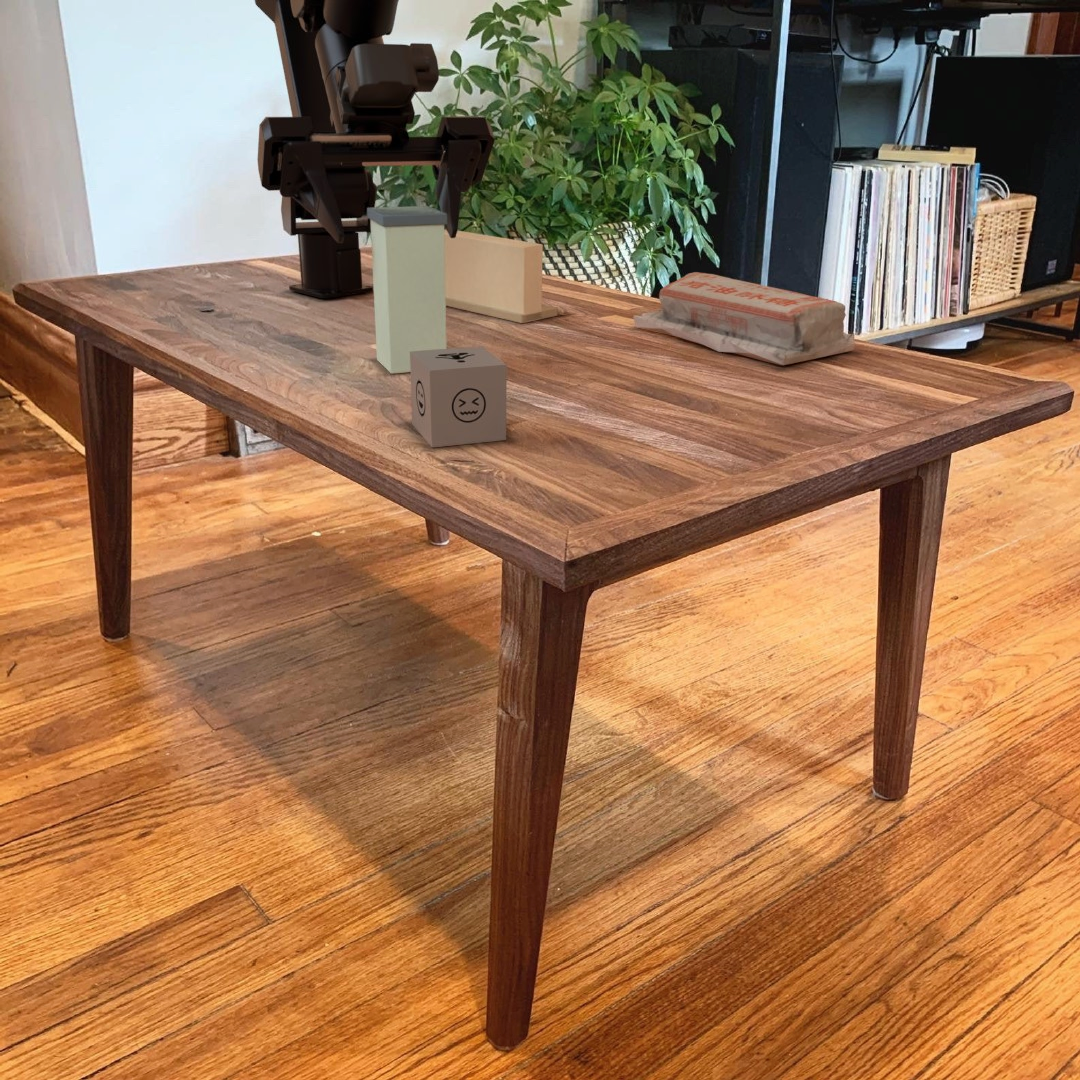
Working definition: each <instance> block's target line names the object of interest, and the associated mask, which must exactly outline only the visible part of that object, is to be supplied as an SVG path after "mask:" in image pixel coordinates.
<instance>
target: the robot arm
mask: <svg viewBox="0 0 1080 1080" xmlns="http://www.w3.org/2000/svg"><path fill="white" fill-rule="evenodd" d="M399 2H400V1H399V0H254V4H255V6H256V7H257V8H258V9H259V10H260V11H261V12H262V13H264V15H265V16H266V17H267V18H269V20H270V21H271V22H272V23H273V24H274V27H275V32H276V38H277V44H278V48H279V54H280V59H281V64H282V69H283V74H284V75H283V76H284V81H285V85H286V91H287V95H288V101H289V106H290V111H291V116H265V117H264V118H263V120H262V121H261V122H260V123H259V125H258V126H259V127H258V142H257V143H258V144H257V167H258V168H257V169H258V170H257V171H258V175H259V179H260V180H259V181H260V185H261V187H262V188H263V189H265V190H267V191H270V192H271V191H279V194H280V196H281V203H280V204H281V205H280V212H281V214H280V215H281V220H282V228H283V231H285V233H287V234H288V235H289V236H291V237H292V236H294V237H295V236H296V237H297V239H298V240H297V241H298V242H297V243H298V256H299V269H300V283H297V284H291V285H289V286H288V289H289V291H291V292H296V293H300V294H303V295H307V296H312V297H315V298H320V299H332V298H338V297H339V298H340V297H344V296H350V295H356V294H364V293H369V292H374V286H373V285H369V284H365V283H363V273H362V272H363V271H362V270H363V269H362V255H361V253H362V251H361V249H360V236H359V233H367V234H371V221H370V219H369V218H367V208H372V207H376V202H377V201H376V200H377V194H378V186H377V184H376V183H375V182H374V180H373V175H372V173H371V170H369V169H367V168H366V167H394V166H395V167H396V166H397V167H402V166H432V167H431V168H432V173H433V177H434V180H435V181H436V184H435V187H434V190H435V191H434V192H435V195H436V199H437V203H438V206H439V209H440V210H439V211H441V212H444V213H446V214H447V224H444V229H445V230H447V232H448V234H449V236H450V238H455V237H456V234H457V231H459V222H460V211H461V203H462V202H461V201H462V193H466V192H468V191H469V190H470V189H471V187H473V186H476V185H477V184H479V183H480V182H482V180H483V178H484V174H485V172H486V169H487V166H488V162H489V159H490V158H491V157H490V156H491V153H492V151H493V148H494V144H495V142H496V137H495V134H494V131H493V128H492V124H491V123H490V122H489V120H488V119H487V118H486V117H485V116H441V117H440V121H439V125H438V129H437V133H436V136H410V135H409V131H408V128H407V125H413V123H414V121H415V120H414V119H415V114H416V112H415V108H414V105H413V102H412V100H413V98H414V96H415V95H416V93H432V92H433V91H434V89H435V87H436V85H437V84H438V82H439V79H440V70H439V64H438V58H437V55H436V51H435V49H434V47H433V45H432V43H425V42H422V43H421V42H419V43H418V42H417V43H415V42H412V43H410V44H402V43H399V44H398V43H397V44H395V43H385V42H384V38H383V36H390V35H391V34H392V32H393V29H394V25H395V21H396V16H397V10H398V9H397V8H398V5H399ZM297 219H300V220H301V221H300V222H299V221H297ZM342 219H347V220H342ZM349 219H354V220H349ZM355 219H356V220H355ZM311 220H312V221H311ZM313 220H317V221H313Z"/></svg>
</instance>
